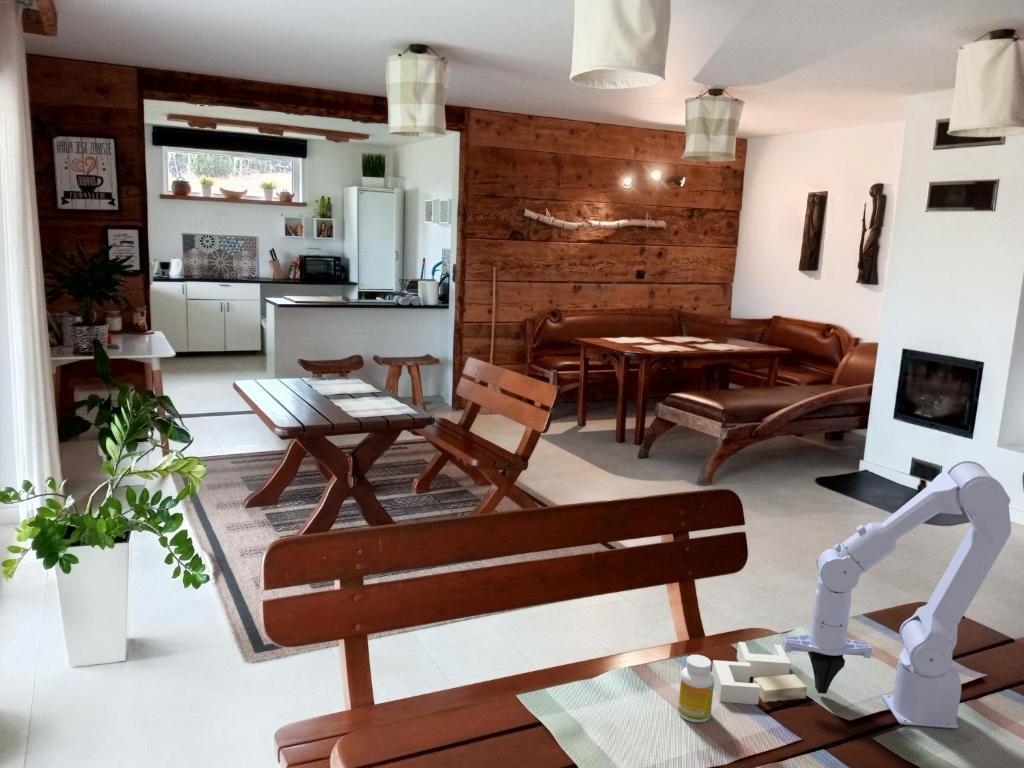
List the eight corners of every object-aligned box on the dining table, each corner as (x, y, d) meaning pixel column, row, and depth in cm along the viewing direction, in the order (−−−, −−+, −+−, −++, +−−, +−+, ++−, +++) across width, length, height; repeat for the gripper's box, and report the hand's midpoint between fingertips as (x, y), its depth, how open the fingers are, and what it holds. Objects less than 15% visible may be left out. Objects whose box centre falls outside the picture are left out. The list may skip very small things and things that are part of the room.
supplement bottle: (711, 725, 132) (716, 671, 130) (677, 720, 133) (682, 666, 131) (709, 707, 137) (715, 654, 135) (677, 702, 138) (682, 650, 136)
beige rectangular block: (792, 686, 145) (794, 674, 144) (805, 699, 141) (806, 686, 140) (752, 690, 143) (753, 677, 142) (763, 703, 139) (765, 690, 139)
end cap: (747, 678, 146) (749, 662, 145) (758, 704, 138) (760, 687, 138) (711, 676, 146) (713, 660, 146) (719, 701, 138) (721, 684, 138)
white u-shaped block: (736, 657, 153) (738, 641, 152) (779, 660, 153) (780, 644, 152) (744, 676, 147) (746, 660, 146) (788, 679, 146) (790, 663, 146)
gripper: (864, 610, 142) (854, 680, 145) (781, 604, 143) (772, 674, 145) (880, 630, 135) (869, 703, 138) (792, 624, 136) (783, 697, 139)
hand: (820, 690), depth 141 cm, fingers closed
